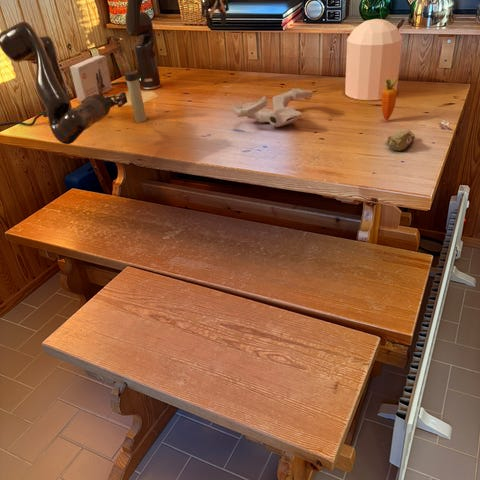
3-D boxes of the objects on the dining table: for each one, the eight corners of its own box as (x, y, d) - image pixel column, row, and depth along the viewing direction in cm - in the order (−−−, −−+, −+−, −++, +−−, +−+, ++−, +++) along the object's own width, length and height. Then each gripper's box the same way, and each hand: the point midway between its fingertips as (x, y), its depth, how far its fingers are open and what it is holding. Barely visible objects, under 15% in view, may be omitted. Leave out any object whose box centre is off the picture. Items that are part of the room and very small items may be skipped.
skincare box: (87, 102, 214) (77, 67, 204) (78, 102, 215) (68, 66, 206) (113, 88, 229) (105, 54, 220) (104, 88, 231) (96, 54, 222)
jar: (132, 121, 188) (122, 75, 177) (140, 117, 191) (131, 71, 180) (140, 122, 186) (131, 76, 175) (148, 119, 189) (139, 72, 178)
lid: (122, 80, 178) (121, 74, 177) (132, 76, 182) (131, 70, 180) (132, 81, 176) (130, 75, 175) (141, 77, 179) (140, 71, 178)
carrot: (394, 118, 167) (398, 76, 158) (393, 123, 163) (397, 80, 154) (379, 117, 168) (383, 75, 160) (378, 122, 165) (382, 80, 156)
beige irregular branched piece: (230, 133, 167) (227, 101, 161) (244, 110, 188) (241, 81, 182) (308, 133, 161) (308, 99, 155) (313, 109, 182) (314, 78, 176)
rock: (408, 140, 153) (379, 139, 152) (414, 122, 149) (384, 120, 148) (421, 154, 144) (391, 153, 143) (428, 135, 140) (396, 133, 139)
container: (366, 103, 181) (371, 27, 166) (334, 91, 198) (337, 19, 182) (408, 92, 188) (417, 17, 172) (374, 81, 204) (379, 11, 188)
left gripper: (111, 97, 146) (129, 83, 160) (70, 98, 149) (91, 85, 162) (116, 120, 150) (134, 105, 164) (76, 121, 153) (97, 106, 166)
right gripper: (216, -23, 183) (220, 22, 193) (193, -17, 174) (198, 29, 184) (231, -23, 180) (235, 22, 189) (208, -18, 170) (213, 30, 180)
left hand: (113, 95), depth 163 cm, fingers open, 8 cm apart
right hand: (217, 25), depth 186 cm, fingers open, 8 cm apart
